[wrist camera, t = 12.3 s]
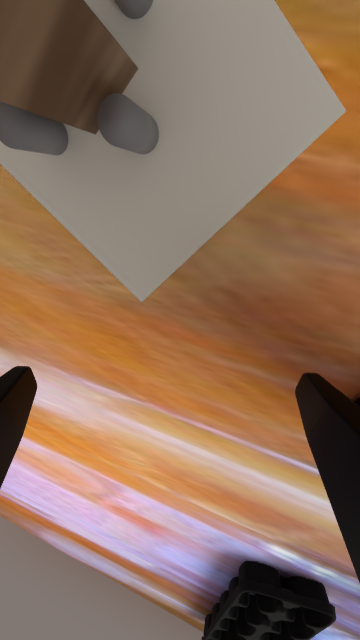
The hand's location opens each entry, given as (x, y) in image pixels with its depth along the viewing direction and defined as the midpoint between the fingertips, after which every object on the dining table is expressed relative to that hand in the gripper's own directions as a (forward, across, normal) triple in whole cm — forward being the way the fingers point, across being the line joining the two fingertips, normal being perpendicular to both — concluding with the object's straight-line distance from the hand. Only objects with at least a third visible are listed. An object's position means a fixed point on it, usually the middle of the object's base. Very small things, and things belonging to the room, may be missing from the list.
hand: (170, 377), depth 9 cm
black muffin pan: (+1, -16, +56) cm, 58 cm away
